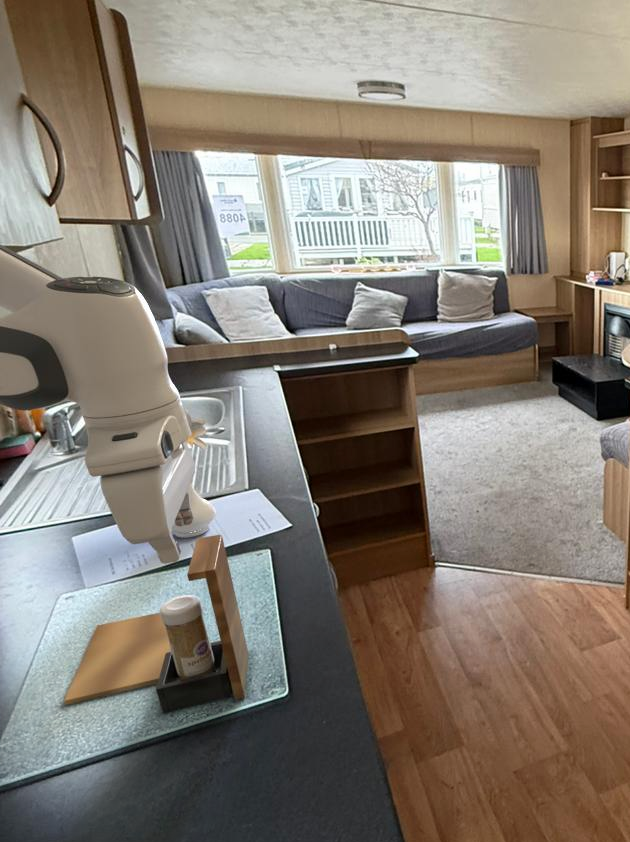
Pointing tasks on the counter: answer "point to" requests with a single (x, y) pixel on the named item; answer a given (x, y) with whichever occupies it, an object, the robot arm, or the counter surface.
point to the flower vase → (199, 506)
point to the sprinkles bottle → (188, 636)
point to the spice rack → (226, 652)
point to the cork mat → (121, 658)
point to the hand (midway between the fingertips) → (179, 540)
